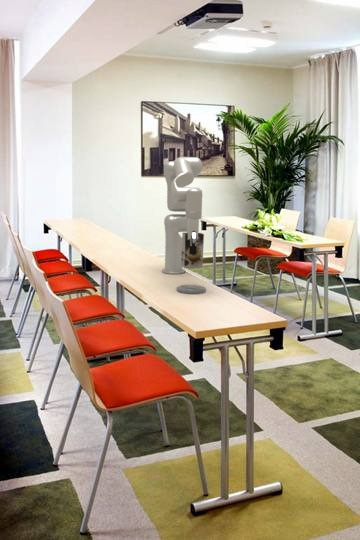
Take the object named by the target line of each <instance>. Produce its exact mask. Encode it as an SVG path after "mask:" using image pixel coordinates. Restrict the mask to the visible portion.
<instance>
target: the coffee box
mask: <svg viewBox="0 0 360 540" xmlns="http://www.w3.org/2000/svg"><path fill="white" fill-rule="evenodd" d="M181 233H182V236H181V237H182V256H181V266H182V268H183V269H199V268H200V269H201V268H202V269H203V268H204V267H203V263H204V262H203V261H204V240H205V239H204V238H205V234H204V233H202V232H198V240H197V237H196V236H195V237H196V246H197V253H196V255H193V254H190V239H189V240H188V234H187V232H181ZM191 239H193V237H192V236H191Z"/></svg>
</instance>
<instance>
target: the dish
mask: <svg viewBox="0 0 360 540" xmlns="http://www.w3.org/2000/svg"><path fill="white" fill-rule="evenodd" d="M206 291H207V289H206V287H204V286H202V285H198V284H182V285H178V286H177V287H176V292H178V293H180V294H187V295H198V294H199V295H200V294H201V295H202V294H204V293H206Z"/></svg>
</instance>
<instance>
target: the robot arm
mask: <svg viewBox="0 0 360 540" xmlns="http://www.w3.org/2000/svg"><path fill="white" fill-rule="evenodd" d="M202 171H203V162H202V160H201V159H200V158H199V157H196V156H195V157H194V156H179V157H176V158H175V160H170V161H167V162H165V163H164V164H163V175H164V179H165V182H166V187H167V188H166V189H167V190H166V191H167V192H166V195H167V196H166V199H167V200H166V203H167V205H166V206H167V210H168V211H170V212H175V213H171V214H167V215H165V217H164V221H163V224H164V232H165V233H164V234H165V247H164V248H165V249H164V250H165V251H164V268H162V269H161V272H162V273H163V274H169V275H170V274H171V275H180V274H184V273H185V272H186V269H185V268H183V267H182V266H181V256H182V236H181V235H180V234H179V233H187V234H188V240H189V239H190V254H193V255H196V253H197V246H196V237H197V240H198V233H199V229H200V228H199V225H200V220H202V217H203V216H202V213H203V190H202V189H201V188H200V187H193V186H192V187H190V186H189V185H191V184H192V183H193V181H194V180H195V178H196V177H198V176H199V175H200V174H201V173H202ZM176 212H181V213H176ZM182 212H185V214H183V213H182ZM191 236H192V237H193V239H191ZM195 236H196V237H195Z"/></svg>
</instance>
